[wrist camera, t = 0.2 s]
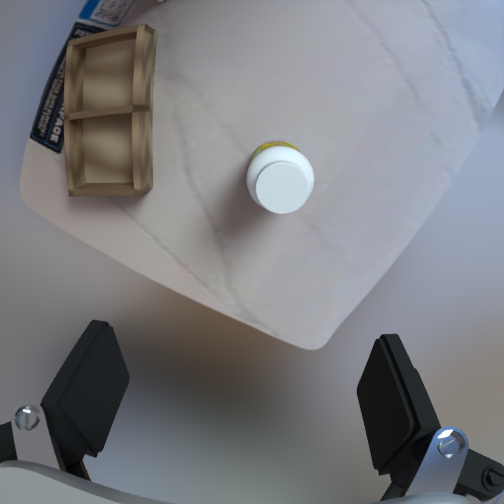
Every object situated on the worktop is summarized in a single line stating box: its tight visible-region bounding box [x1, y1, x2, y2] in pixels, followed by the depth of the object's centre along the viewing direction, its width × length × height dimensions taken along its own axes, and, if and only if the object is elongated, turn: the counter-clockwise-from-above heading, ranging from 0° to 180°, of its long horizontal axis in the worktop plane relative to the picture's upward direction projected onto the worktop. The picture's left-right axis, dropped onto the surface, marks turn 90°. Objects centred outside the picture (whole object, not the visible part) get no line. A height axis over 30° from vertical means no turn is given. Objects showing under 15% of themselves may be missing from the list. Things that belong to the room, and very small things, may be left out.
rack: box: [64, 24, 157, 196], centre depth 32 cm, size 22×11×4 cm, turn 177°
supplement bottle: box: [247, 140, 314, 214], centre depth 31 cm, size 7×7×13 cm
